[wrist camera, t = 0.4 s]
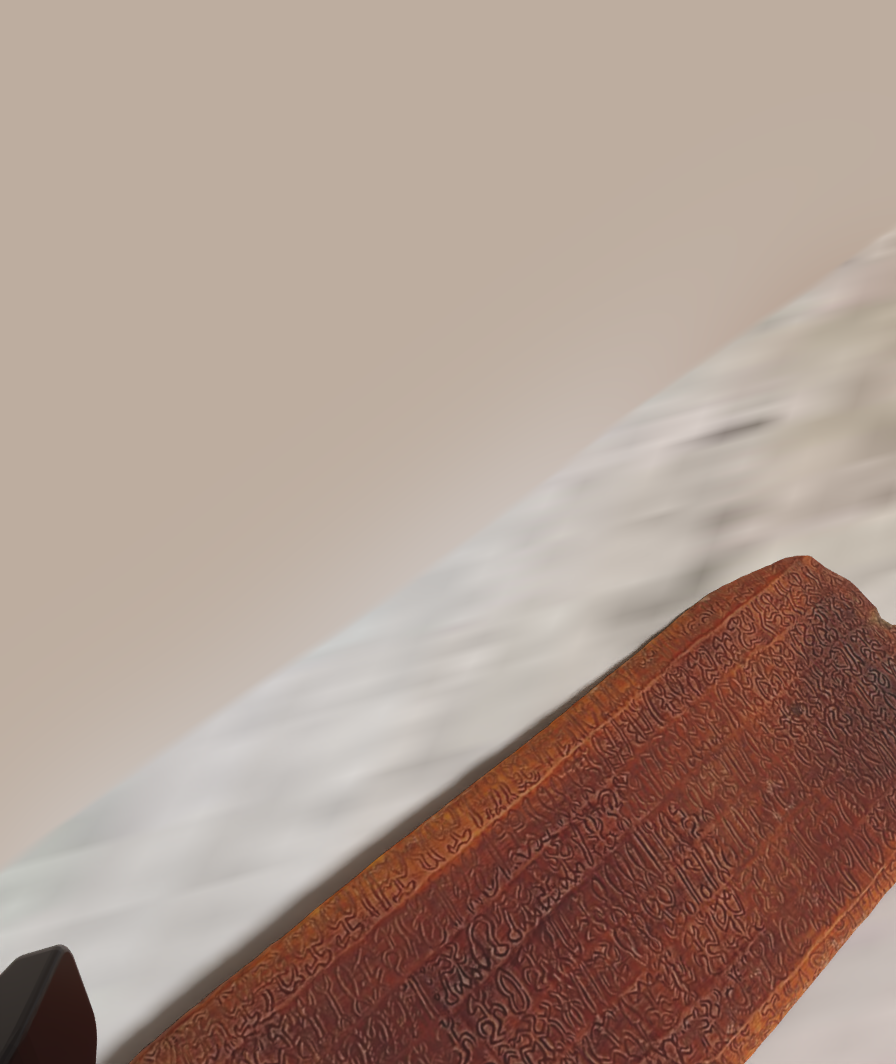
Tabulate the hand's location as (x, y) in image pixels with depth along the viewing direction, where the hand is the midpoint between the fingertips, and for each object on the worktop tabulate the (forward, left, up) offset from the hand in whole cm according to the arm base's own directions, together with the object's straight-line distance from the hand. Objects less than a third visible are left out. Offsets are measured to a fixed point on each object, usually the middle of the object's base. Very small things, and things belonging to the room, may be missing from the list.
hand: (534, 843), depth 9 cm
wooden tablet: (-5, -2, -16) cm, 17 cm away
